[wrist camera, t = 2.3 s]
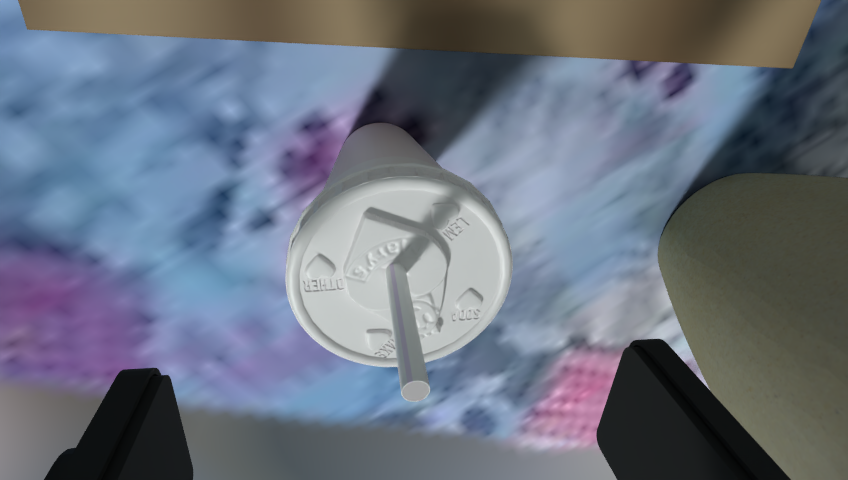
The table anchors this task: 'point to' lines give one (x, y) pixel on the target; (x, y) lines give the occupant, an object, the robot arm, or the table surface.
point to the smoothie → (396, 258)
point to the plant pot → (769, 309)
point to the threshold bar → (467, 25)
